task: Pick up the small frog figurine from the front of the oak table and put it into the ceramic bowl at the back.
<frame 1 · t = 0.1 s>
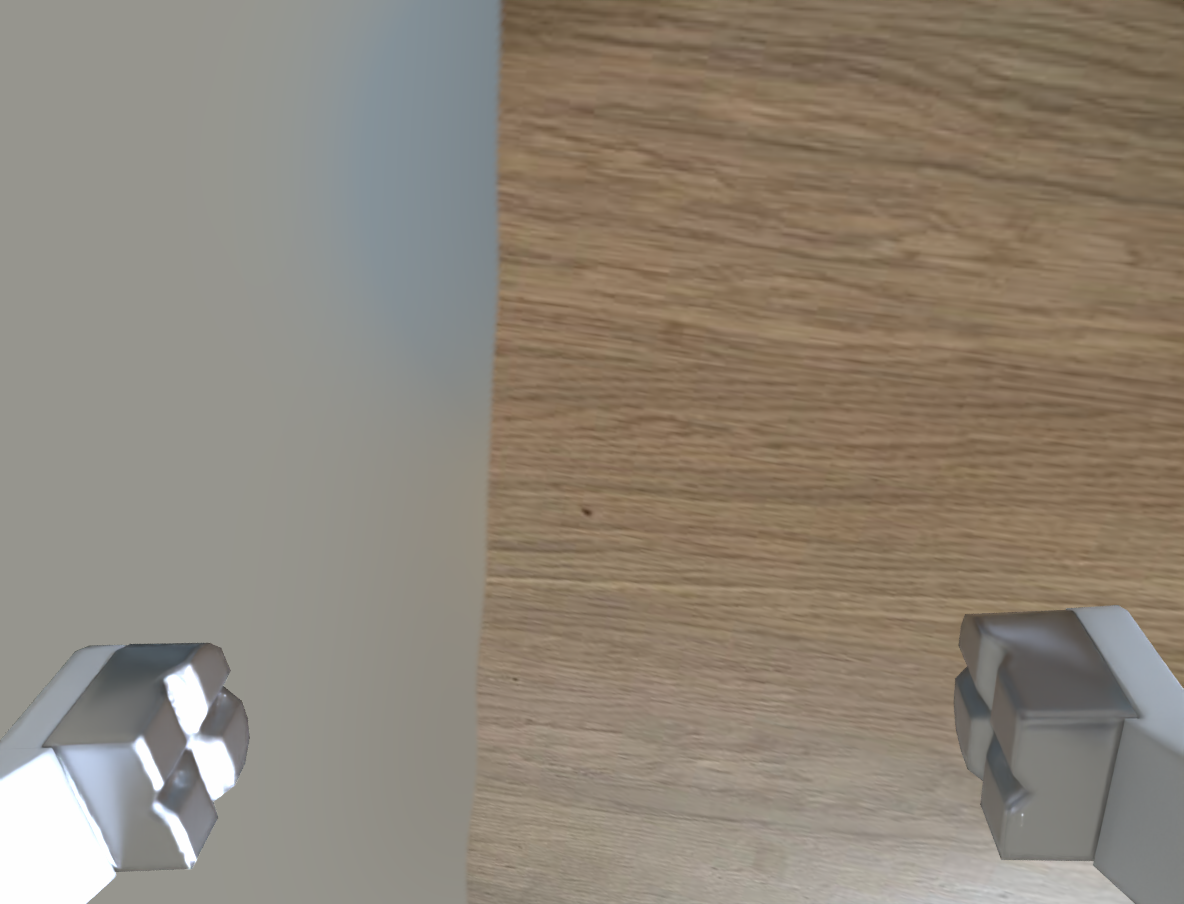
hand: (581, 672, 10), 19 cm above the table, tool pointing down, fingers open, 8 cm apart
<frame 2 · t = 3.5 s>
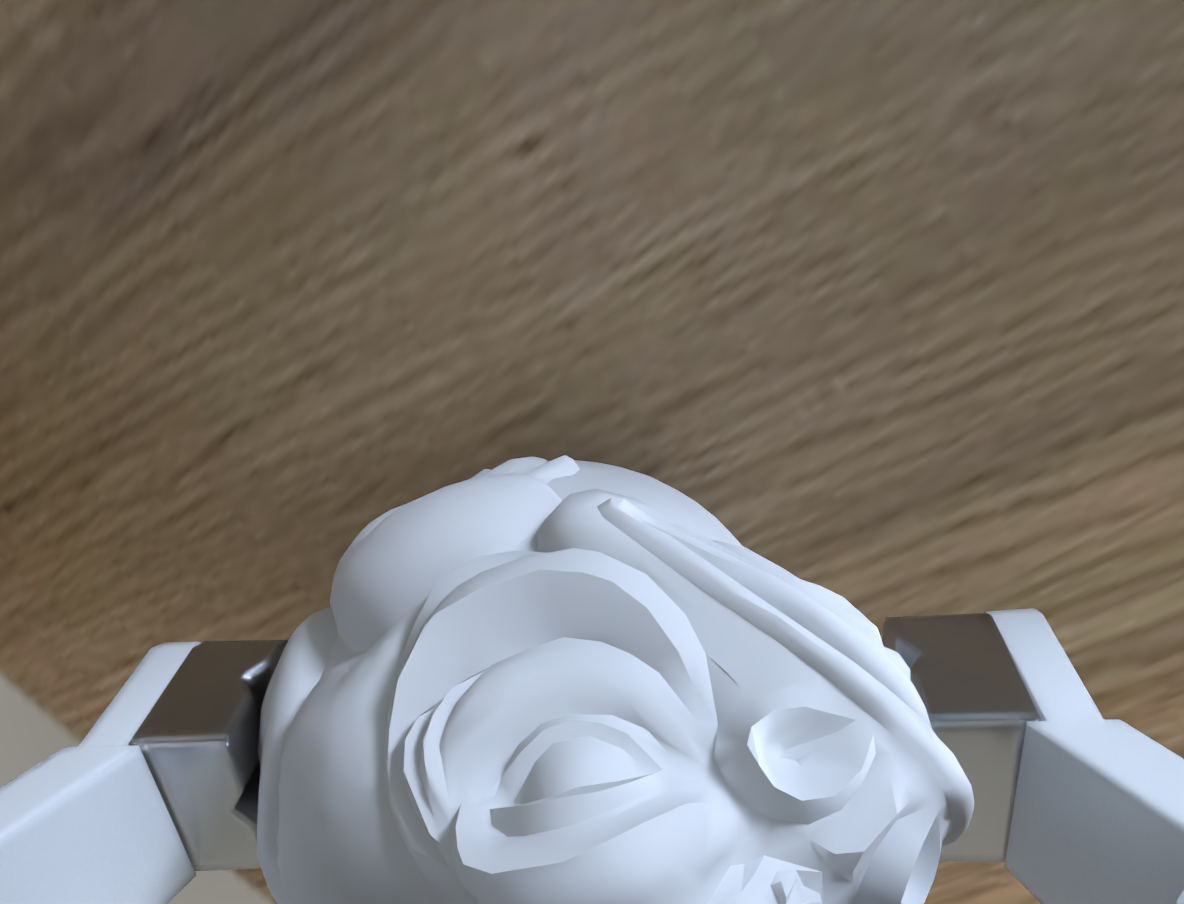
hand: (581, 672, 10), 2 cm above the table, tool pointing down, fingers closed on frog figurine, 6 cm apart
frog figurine: (599, 538, 13), on the table, touching gripper
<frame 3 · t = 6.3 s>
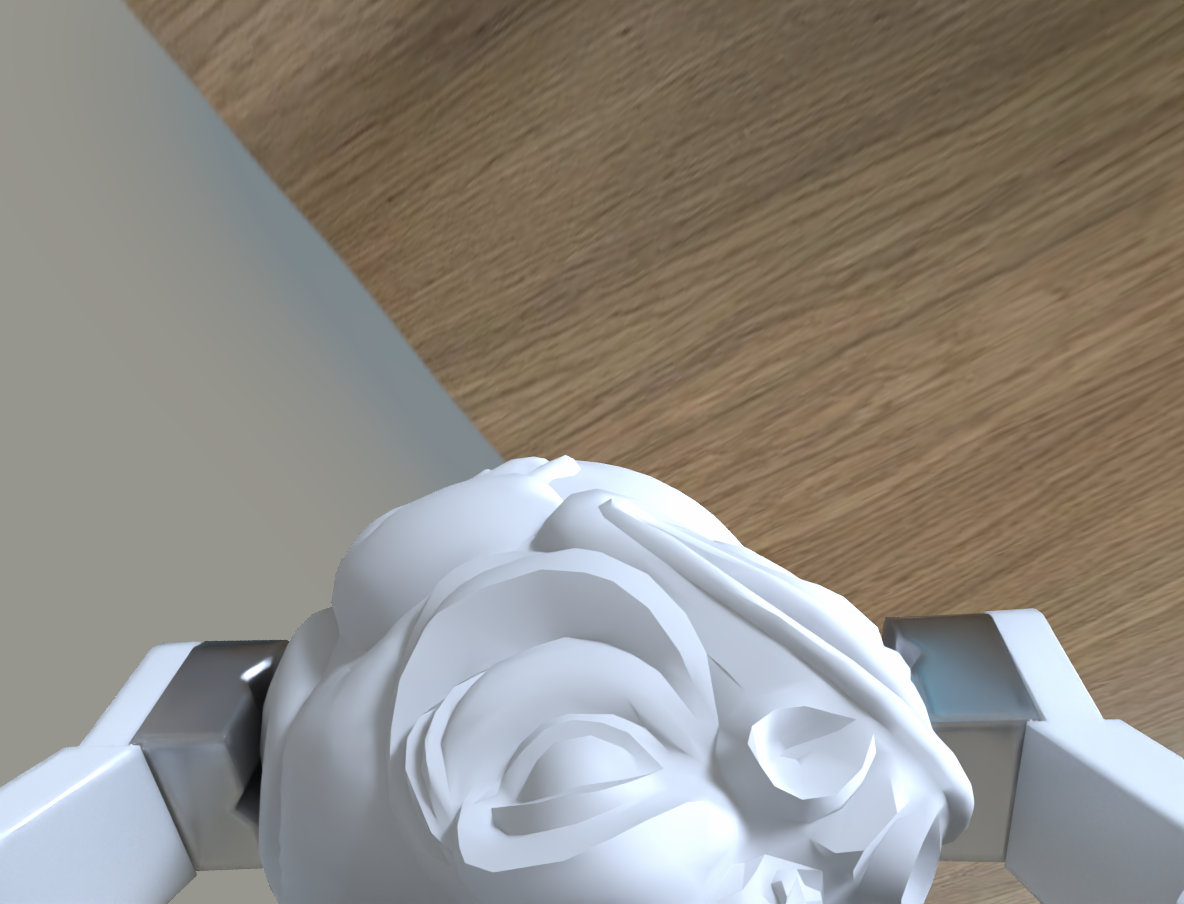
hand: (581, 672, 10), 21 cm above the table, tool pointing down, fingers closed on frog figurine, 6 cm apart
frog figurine: (600, 538, 13), point 19 cm above the table, touching gripper
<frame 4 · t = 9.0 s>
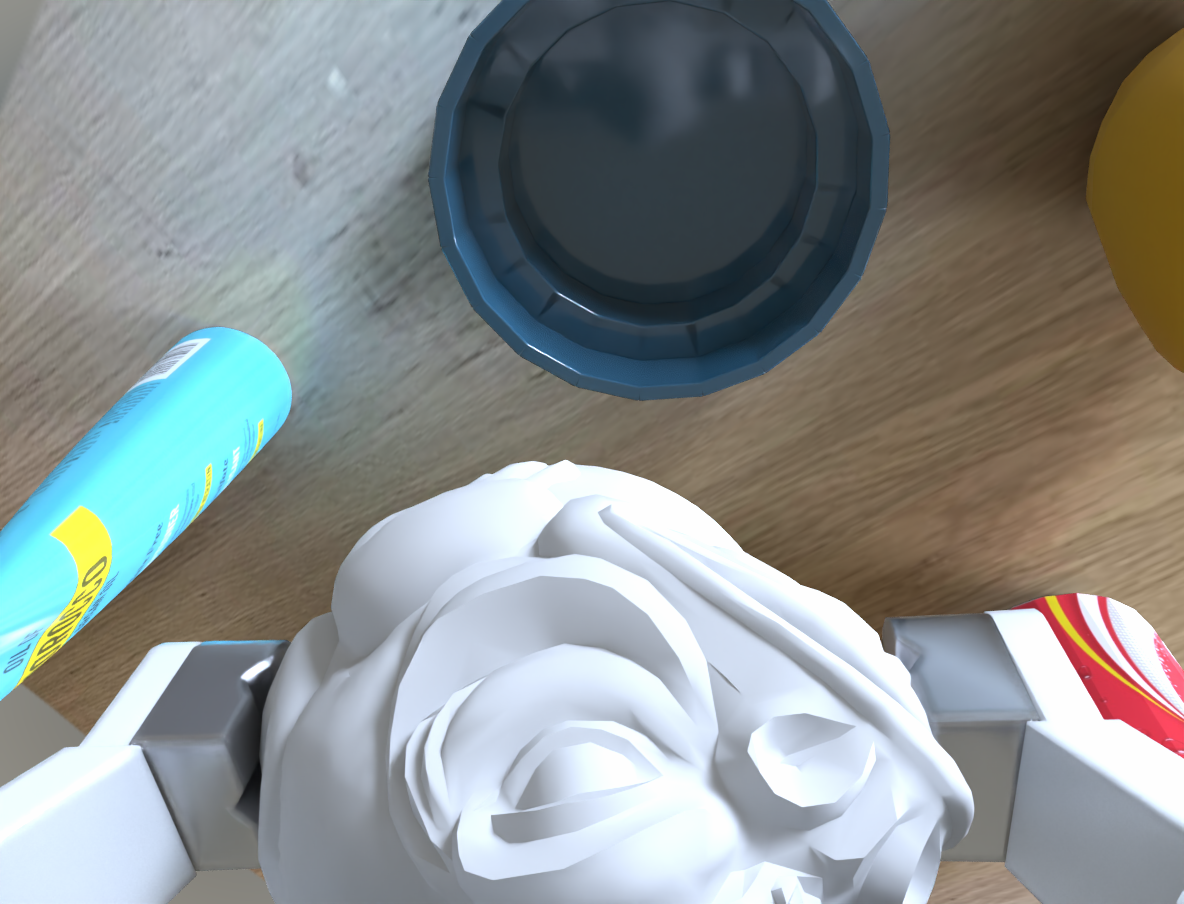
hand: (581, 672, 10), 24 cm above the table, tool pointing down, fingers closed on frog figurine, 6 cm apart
beverage can: (1047, 653, 40), on the table
tube: (238, 382, 37), on the table
bowl: (656, 158, 31), on the table
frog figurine: (600, 542, 13), point 22 cm above the table, touching gripper
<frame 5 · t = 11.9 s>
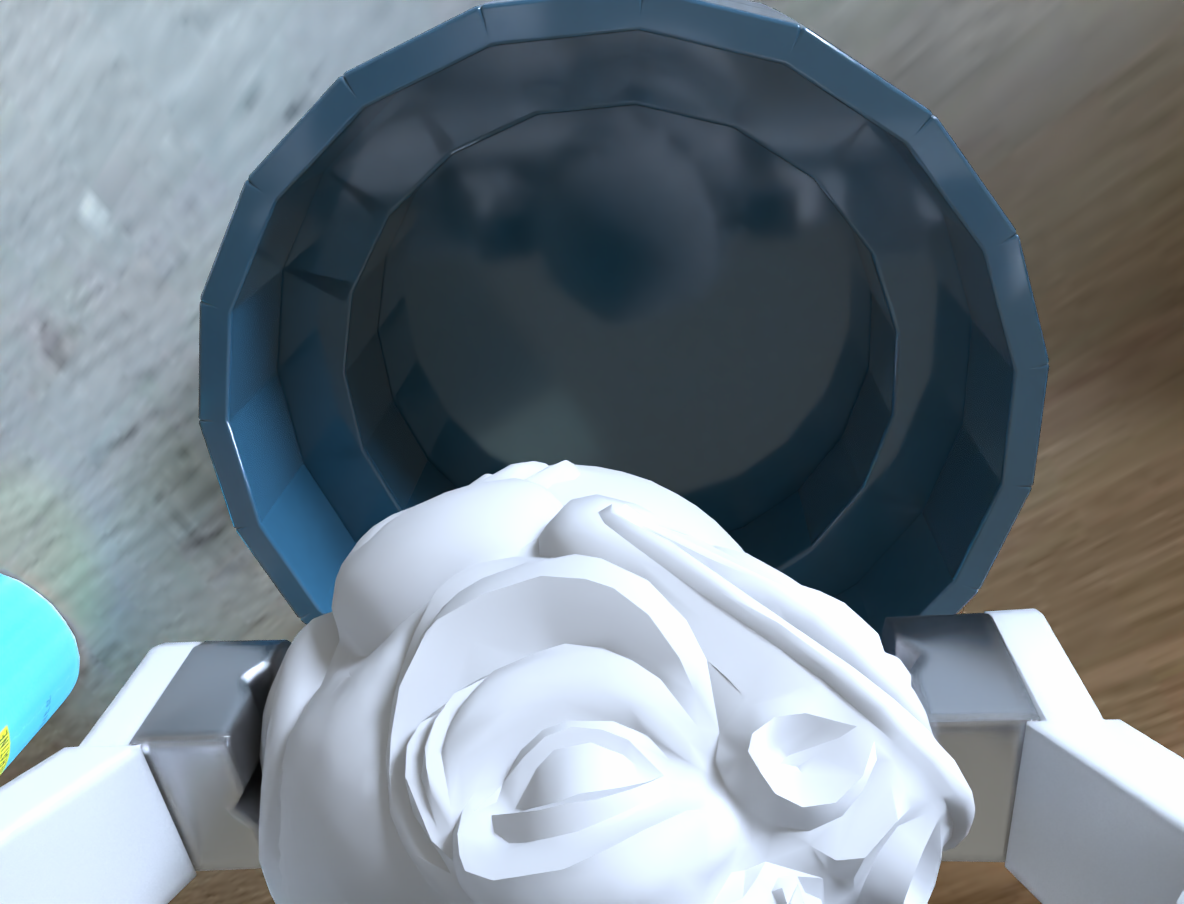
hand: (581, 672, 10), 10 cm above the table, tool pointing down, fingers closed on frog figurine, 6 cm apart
tube: (1, 632, 24), on the table
bowl: (622, 336, 19), on the table
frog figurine: (600, 542, 13), point 7 cm above the table, touching gripper
when the fingers open (3 cm above the table, at t = 14.3 s): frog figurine stays where it is, resting on bowl.
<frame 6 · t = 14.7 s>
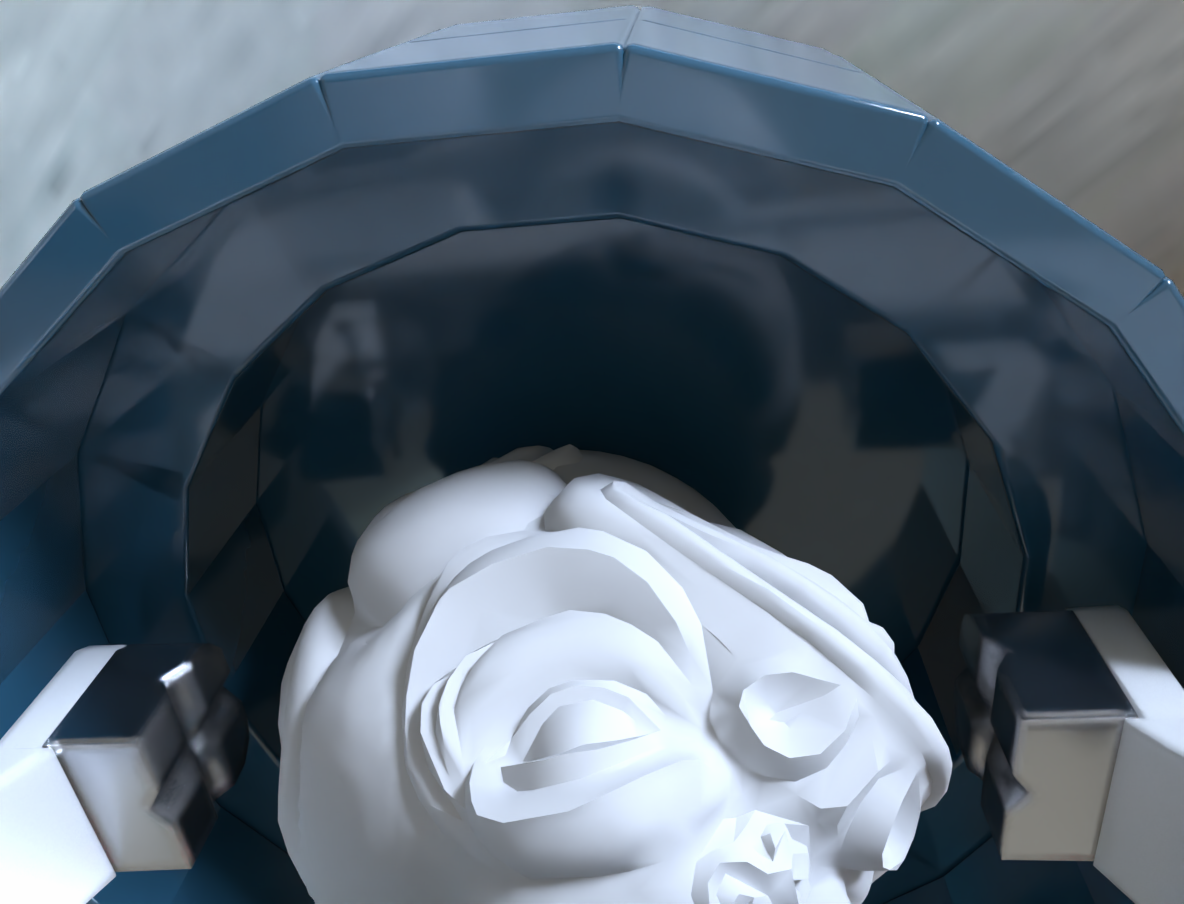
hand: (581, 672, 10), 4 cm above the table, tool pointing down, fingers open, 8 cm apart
bowl: (605, 506, 14), on the table
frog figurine: (602, 526, 13), resting on bowl
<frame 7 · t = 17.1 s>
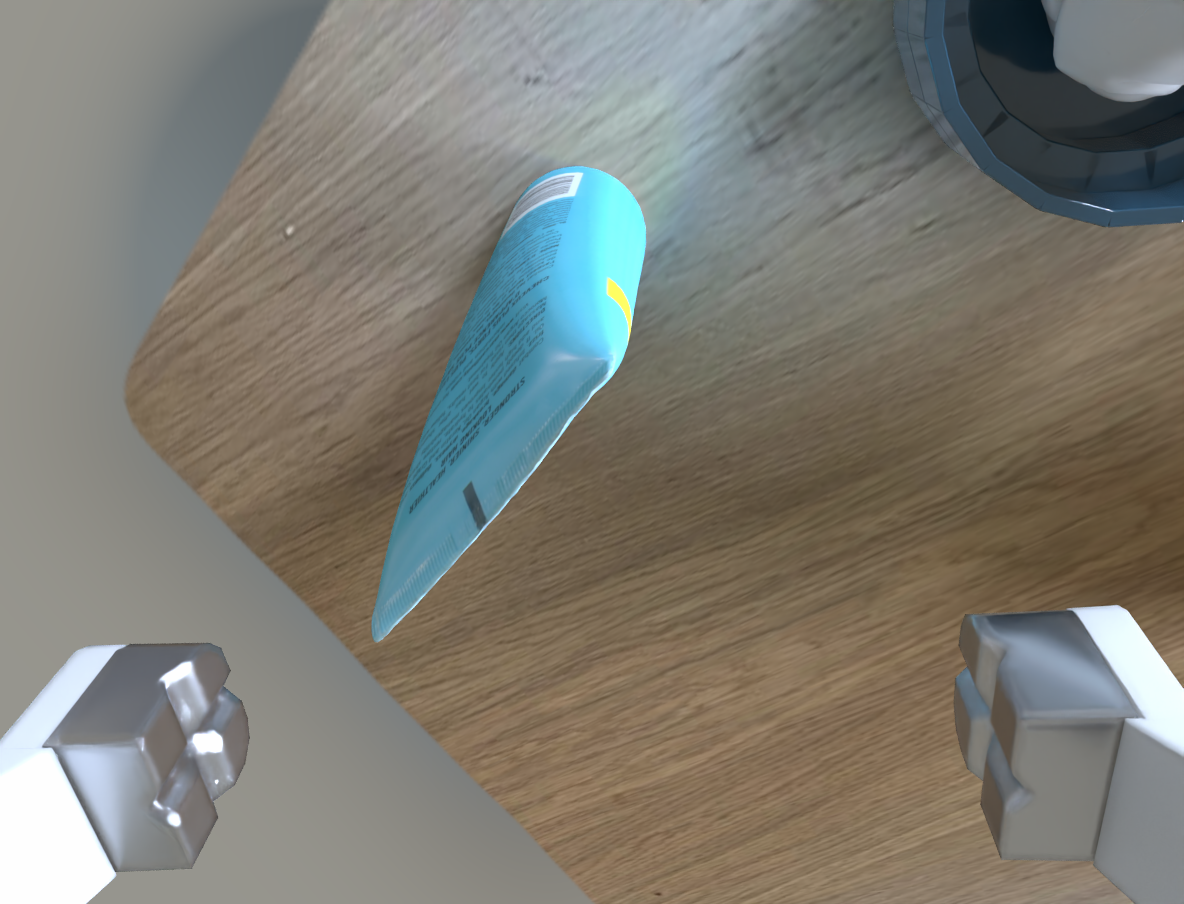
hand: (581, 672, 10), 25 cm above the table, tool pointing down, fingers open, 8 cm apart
tube: (583, 233, 34), on the table
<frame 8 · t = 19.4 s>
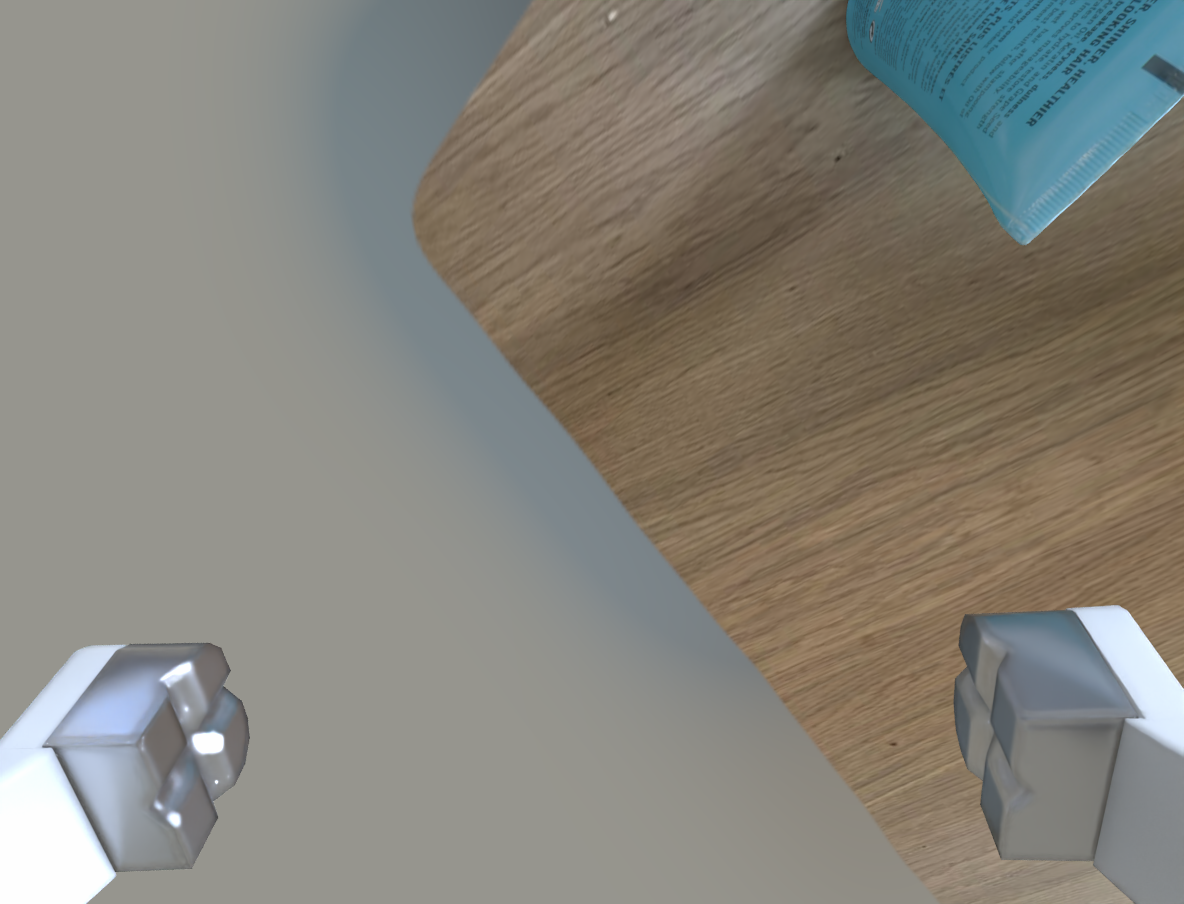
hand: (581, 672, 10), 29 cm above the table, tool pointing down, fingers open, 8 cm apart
tube: (919, 8, 33), on the table
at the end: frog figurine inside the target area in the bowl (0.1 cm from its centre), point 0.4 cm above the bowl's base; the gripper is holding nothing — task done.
